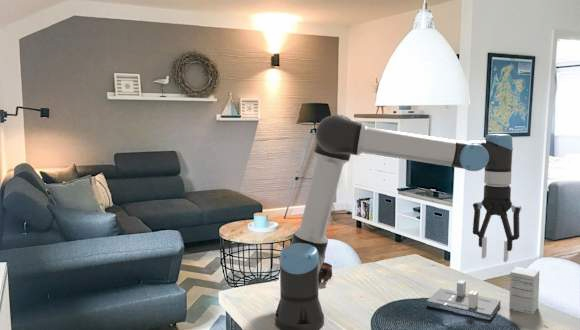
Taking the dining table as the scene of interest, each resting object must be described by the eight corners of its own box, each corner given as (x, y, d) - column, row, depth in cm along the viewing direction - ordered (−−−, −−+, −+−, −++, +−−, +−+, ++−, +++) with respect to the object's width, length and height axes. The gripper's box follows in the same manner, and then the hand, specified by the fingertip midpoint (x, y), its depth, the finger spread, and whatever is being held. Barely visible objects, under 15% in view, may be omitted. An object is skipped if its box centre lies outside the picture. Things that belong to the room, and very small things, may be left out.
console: (489, 321, 148) (490, 315, 148) (426, 307, 159) (426, 301, 159) (500, 305, 160) (500, 299, 160) (440, 293, 172) (440, 287, 171)
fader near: (474, 308, 152) (475, 294, 152) (468, 307, 153) (468, 293, 153) (477, 305, 155) (478, 291, 154) (471, 303, 156) (471, 290, 156)
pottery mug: (302, 280, 188) (307, 259, 191) (321, 287, 192) (325, 267, 195) (320, 281, 178) (325, 259, 181) (339, 288, 182) (344, 267, 185)
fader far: (462, 296, 162) (462, 283, 162) (456, 295, 163) (456, 282, 163) (465, 293, 165) (465, 280, 164) (459, 292, 166) (459, 279, 166)
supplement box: (514, 302, 163) (516, 266, 162) (538, 307, 158) (540, 270, 157) (508, 309, 157) (509, 271, 156) (533, 315, 153) (534, 276, 151)
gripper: (533, 185, 144) (530, 261, 147) (469, 181, 155) (467, 251, 157) (529, 188, 138) (525, 267, 141) (462, 184, 149) (460, 257, 151)
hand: (494, 258), depth 149 cm, fingers open, 6 cm apart
